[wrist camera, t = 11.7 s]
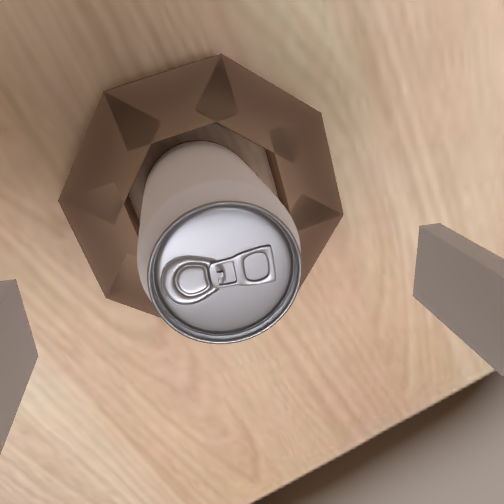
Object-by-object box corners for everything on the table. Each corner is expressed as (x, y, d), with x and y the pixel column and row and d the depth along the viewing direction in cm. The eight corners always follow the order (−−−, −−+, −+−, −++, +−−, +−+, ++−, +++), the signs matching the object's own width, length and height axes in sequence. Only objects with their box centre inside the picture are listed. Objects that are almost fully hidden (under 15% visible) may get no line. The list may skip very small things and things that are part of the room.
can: (131, 150, 26) (111, 210, 15) (243, 129, 26) (304, 171, 15) (158, 254, 28) (157, 372, 17) (260, 233, 29) (321, 332, 18)
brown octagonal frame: (40, 253, 27) (29, 270, 24) (141, 11, 23) (139, 5, 21) (253, 333, 31) (260, 353, 29) (364, 142, 28) (382, 149, 26)
